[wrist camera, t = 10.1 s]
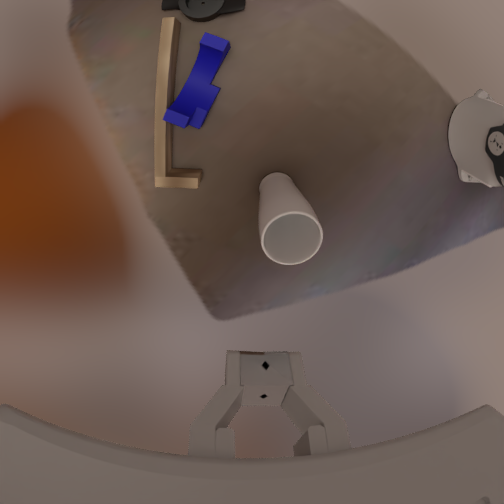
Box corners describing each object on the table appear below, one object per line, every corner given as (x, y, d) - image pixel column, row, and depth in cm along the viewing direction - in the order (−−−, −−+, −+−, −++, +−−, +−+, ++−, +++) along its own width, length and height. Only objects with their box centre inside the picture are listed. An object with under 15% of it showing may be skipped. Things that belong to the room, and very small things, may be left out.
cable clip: (202, 125, 36) (195, 132, 31) (173, 114, 35) (162, 119, 30) (240, 51, 30) (240, 46, 25) (210, 39, 29) (205, 32, 24)
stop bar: (213, 22, 27) (211, 16, 24) (201, 178, 40) (197, 188, 37) (170, 23, 27) (162, 17, 24) (162, 177, 40) (155, 186, 37)
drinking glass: (306, 194, 42) (333, 248, 30) (268, 215, 44) (279, 275, 32) (285, 158, 39) (307, 198, 27) (245, 180, 41) (247, 231, 28)
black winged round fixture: (195, -28, 22) (192, -35, 20) (251, 5, 26) (251, -1, 24) (158, 8, 25) (152, 4, 23) (213, 42, 29) (210, 39, 27)
